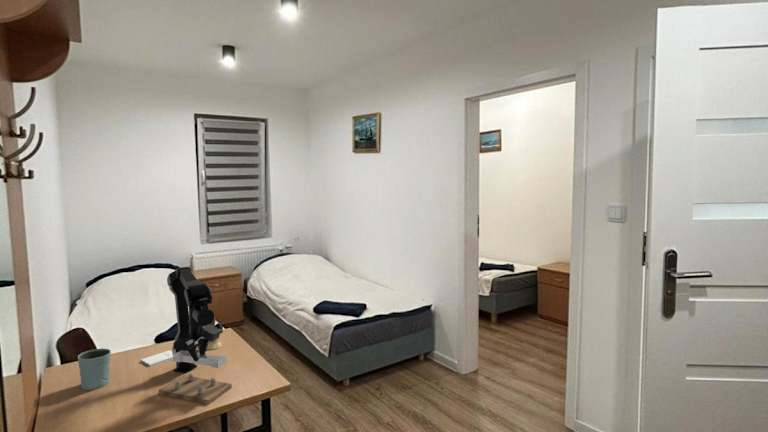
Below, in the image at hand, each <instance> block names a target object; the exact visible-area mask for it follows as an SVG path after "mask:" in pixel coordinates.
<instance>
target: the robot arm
mask: <svg viewBox="0 0 768 432" xmlns="http://www.w3.org/2000/svg"><path fill="white" fill-rule="evenodd" d="M166 282H167V286H168V288H169V291H170V292H171V293H172V294H173V295H174V302H175V311H176V321H177V333H176V334H175V337H174V342H173V343H172V344H173V345H172V348H171V351H172V354H173V355H174V354H176V353H178V352H179V351H181V350H183V351H188V352H189V353H190V355H191V356H192V358H193V360H194V361H196V362H197V361H198V353H199V354H206V352H207V350H206V349H207V346H208V343H209V342H212V341H214V340H216V339H220V337H221V336H220V335H221V334H223V332H224V327H223V323H221V322H218V323H215V325H210V324H211V323H212V322H213V320H214V316H215V312H213V310H211V309H210V308H209V305H210V304H212V302H213V296H212V293H211V289H210V288H209V286H208V284H206V283H205V282H204V281H201V280H198V279H197V277H196V276H195V274H194V273H193V272H192V268H191V267H190V266H182V267H178V268H175V270H174V271H172V272H170V273H168V276H167V278H166ZM175 363H176V364H175V365H176V366H175V368H173V371H175V372H180V373H185V374H186V373H189V372H190V371H191V370H193V369H195V368H197V367H198V364H194V363H188V362H175Z"/></svg>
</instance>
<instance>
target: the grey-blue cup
mask: <svg viewBox="0 0 768 432" xmlns="http://www.w3.org/2000/svg"><path fill="white" fill-rule="evenodd" d="M111 354H112V350H110V349H109V348H96V349H90V350H87V351H84V352H81V353H80V354H78V355H77V362H78V369H79V376H80V383H81V385H80V386H81V389H82V390H84V391H93V390H97V389H100V388H103V387H105V386H107V385H108V384H109V382H110V371H111V370H110V367H111V366H110V364H111Z"/></svg>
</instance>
